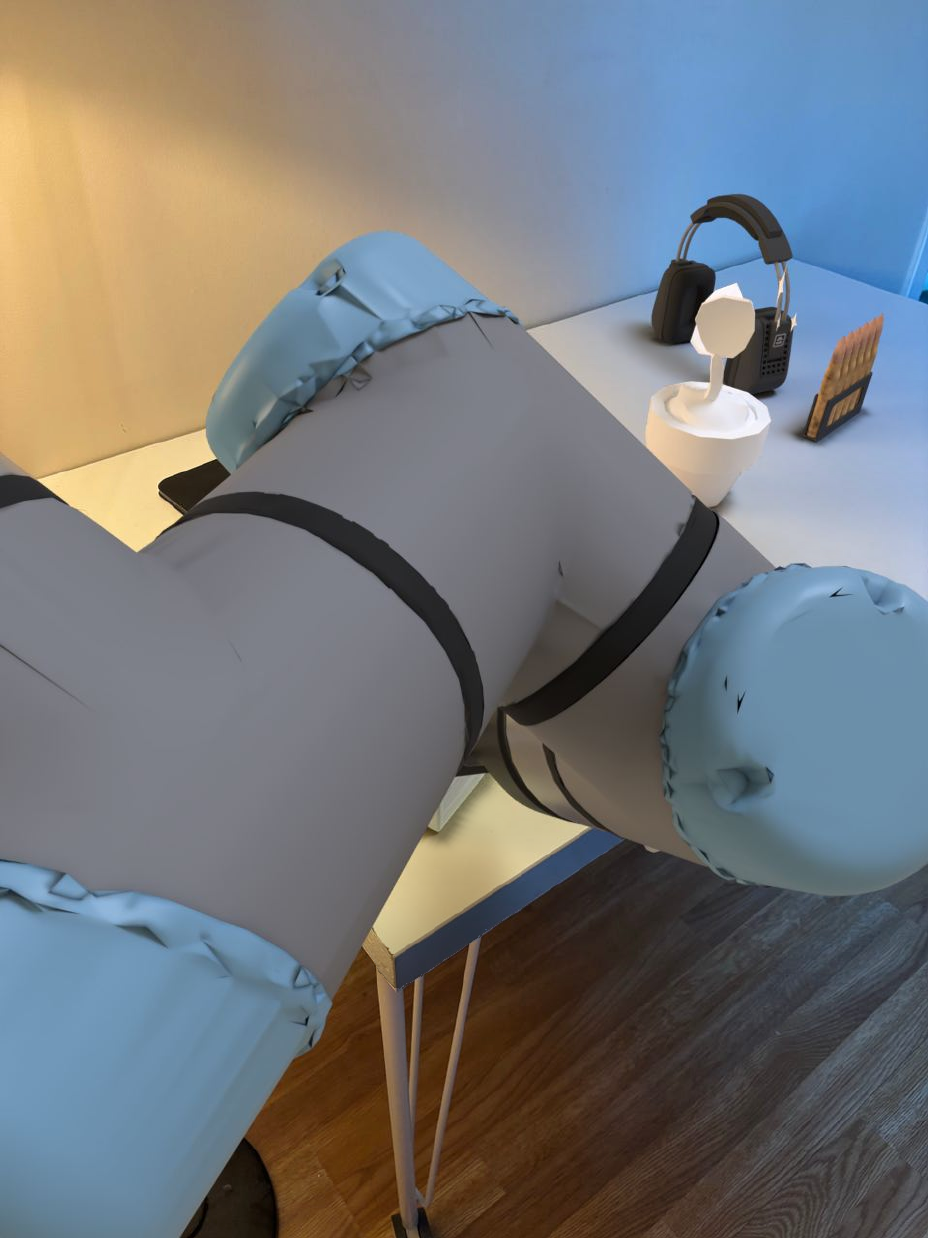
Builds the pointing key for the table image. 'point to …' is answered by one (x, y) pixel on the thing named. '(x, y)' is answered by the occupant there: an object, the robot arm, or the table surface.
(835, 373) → the ammunition clip
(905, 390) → the table surface
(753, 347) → the headphones
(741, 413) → the potted plant
